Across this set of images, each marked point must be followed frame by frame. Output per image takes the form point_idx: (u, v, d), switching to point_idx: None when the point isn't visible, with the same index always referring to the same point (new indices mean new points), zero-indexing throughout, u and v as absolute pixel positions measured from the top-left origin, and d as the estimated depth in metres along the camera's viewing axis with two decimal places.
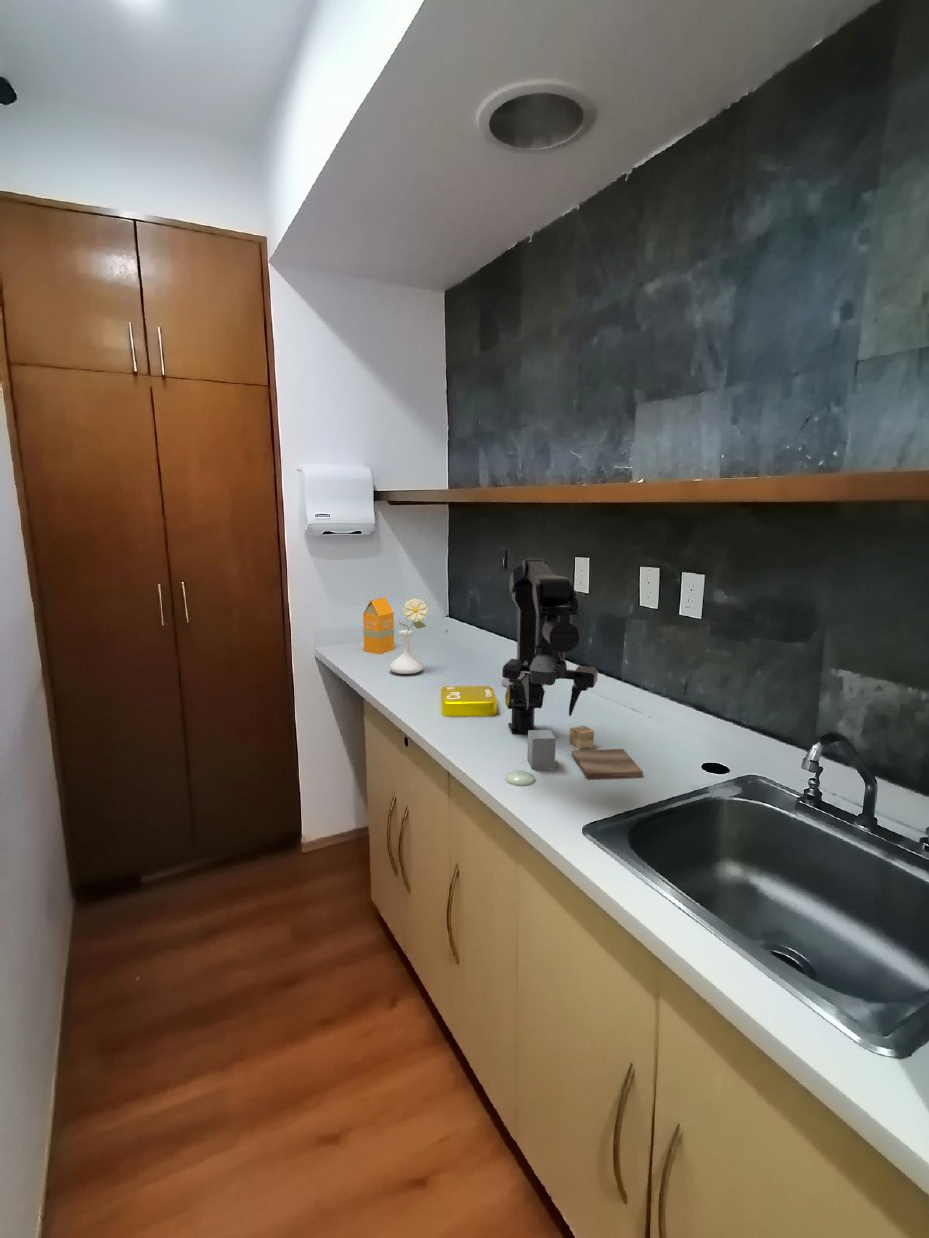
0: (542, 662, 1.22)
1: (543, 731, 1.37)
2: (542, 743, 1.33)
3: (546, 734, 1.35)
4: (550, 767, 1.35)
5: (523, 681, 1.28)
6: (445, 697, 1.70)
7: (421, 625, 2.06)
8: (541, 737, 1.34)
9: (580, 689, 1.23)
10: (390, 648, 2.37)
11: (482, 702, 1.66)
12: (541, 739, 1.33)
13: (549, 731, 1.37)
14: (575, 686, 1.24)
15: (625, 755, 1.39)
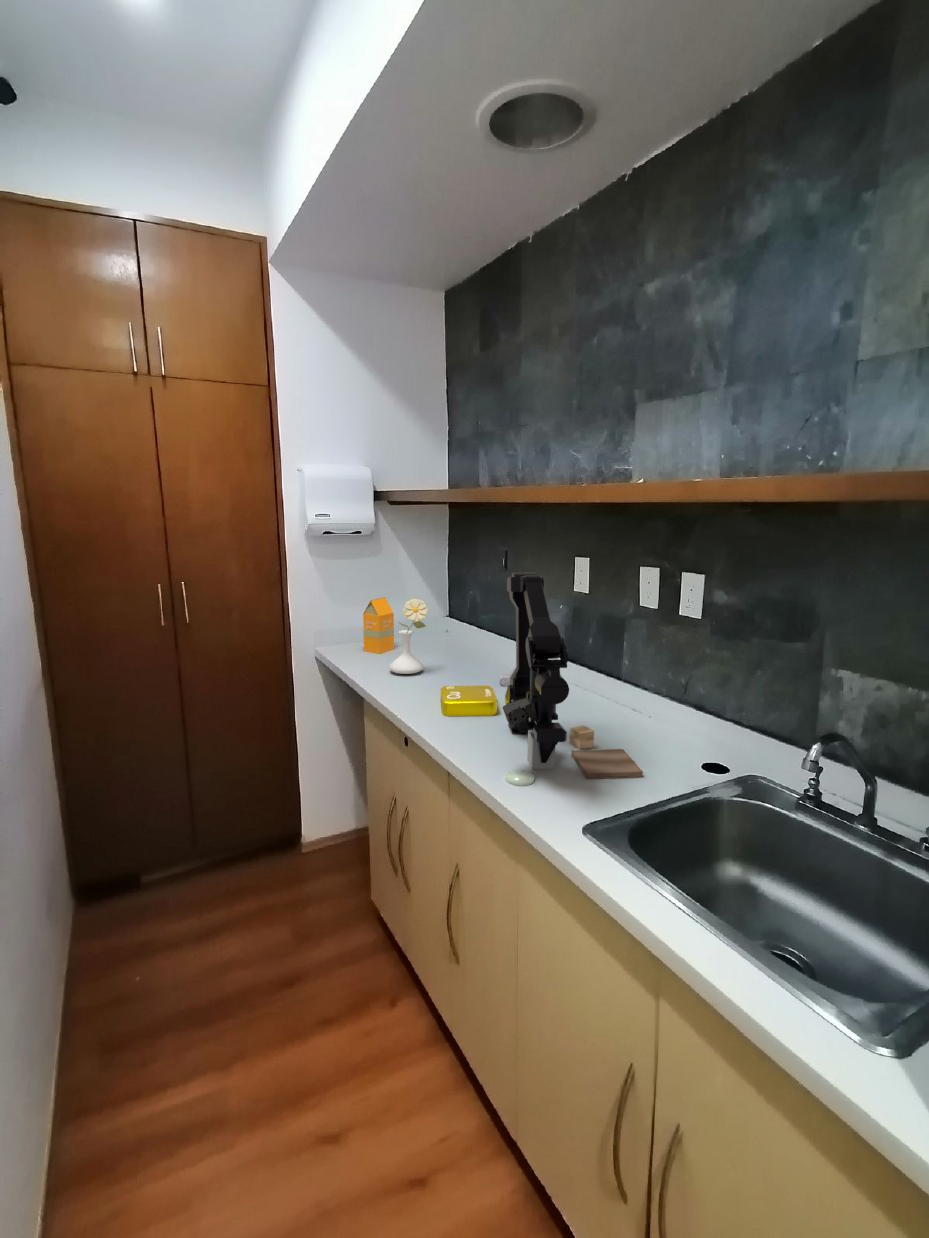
0: (516, 704, 1.34)
1: None
2: None
3: None
4: (550, 767, 1.35)
5: (532, 724, 1.38)
6: (445, 697, 1.70)
7: (421, 625, 2.06)
8: None
9: (533, 737, 1.30)
10: (390, 648, 2.37)
11: (482, 702, 1.67)
12: None
13: None
14: None
15: (625, 755, 1.39)
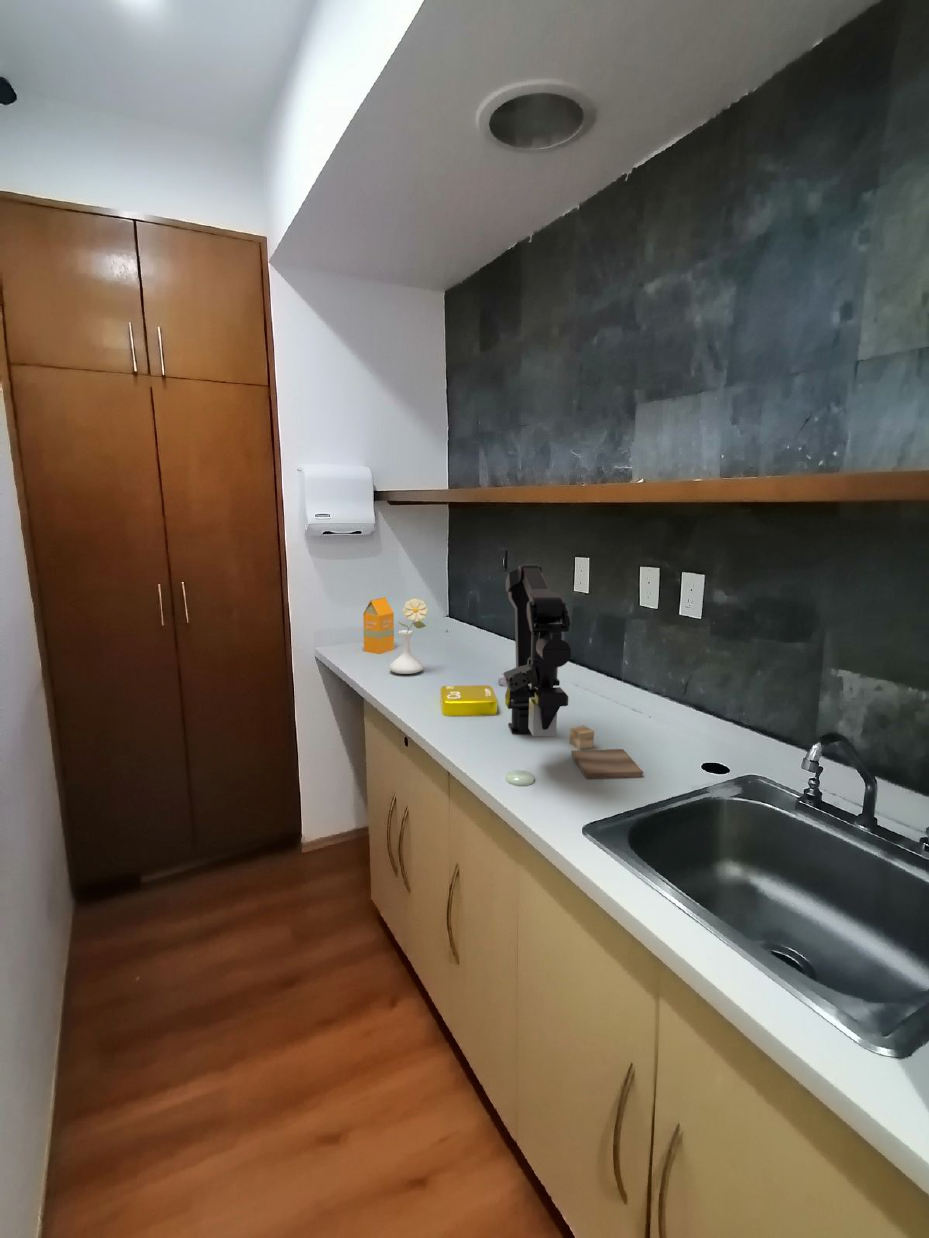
0: (517, 670, 1.33)
1: None
2: None
3: None
4: (551, 734, 1.33)
5: (533, 691, 1.37)
6: (445, 697, 1.70)
7: (421, 625, 2.06)
8: None
9: (535, 702, 1.29)
10: (390, 648, 2.37)
11: (482, 701, 1.67)
12: None
13: None
14: None
15: (625, 755, 1.39)
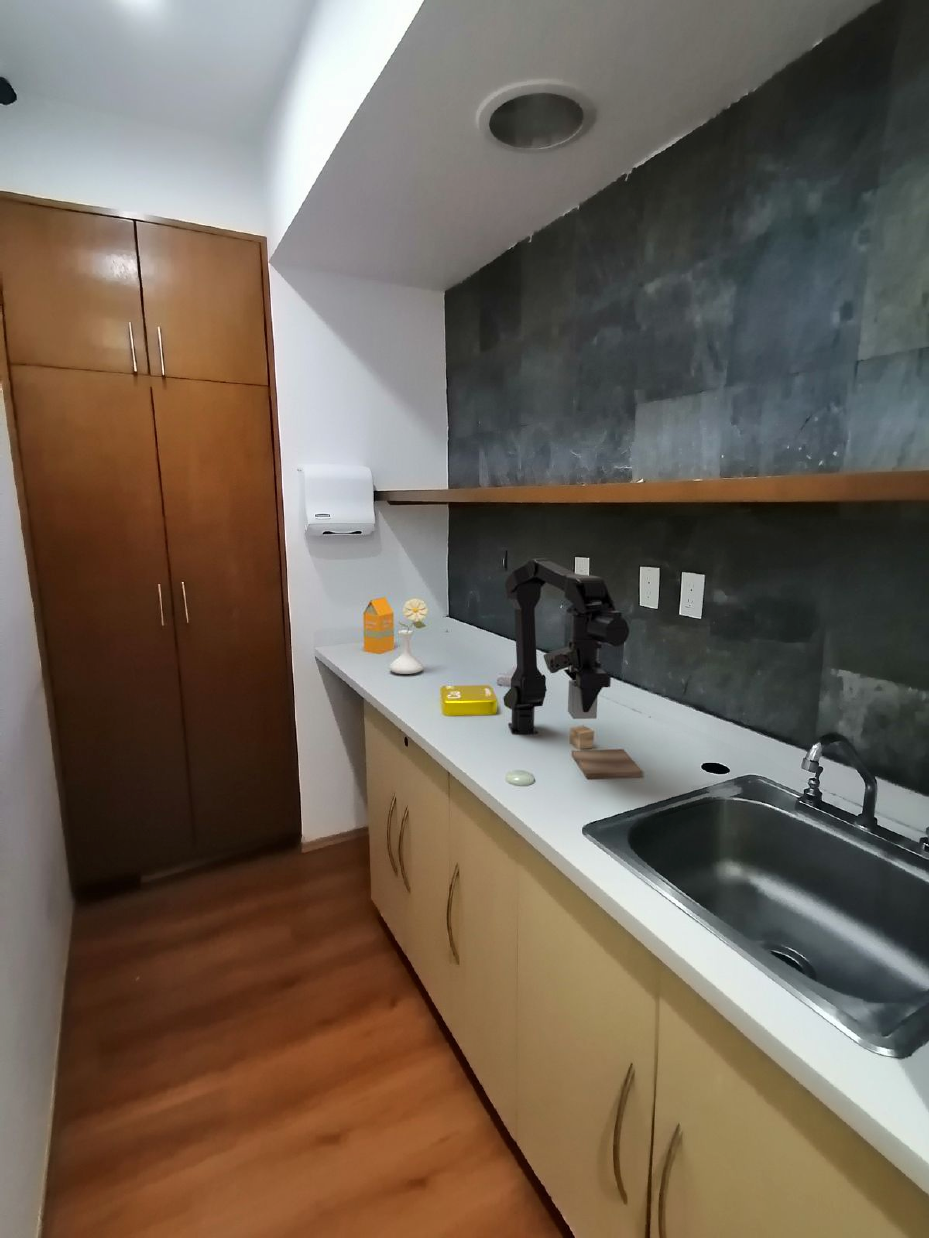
0: (557, 652, 1.32)
1: None
2: None
3: None
4: (592, 717, 1.32)
5: (573, 674, 1.36)
6: (445, 696, 1.70)
7: (421, 625, 2.06)
8: None
9: (576, 684, 1.28)
10: (390, 648, 2.37)
11: (482, 701, 1.67)
12: None
13: None
14: None
15: (625, 755, 1.39)
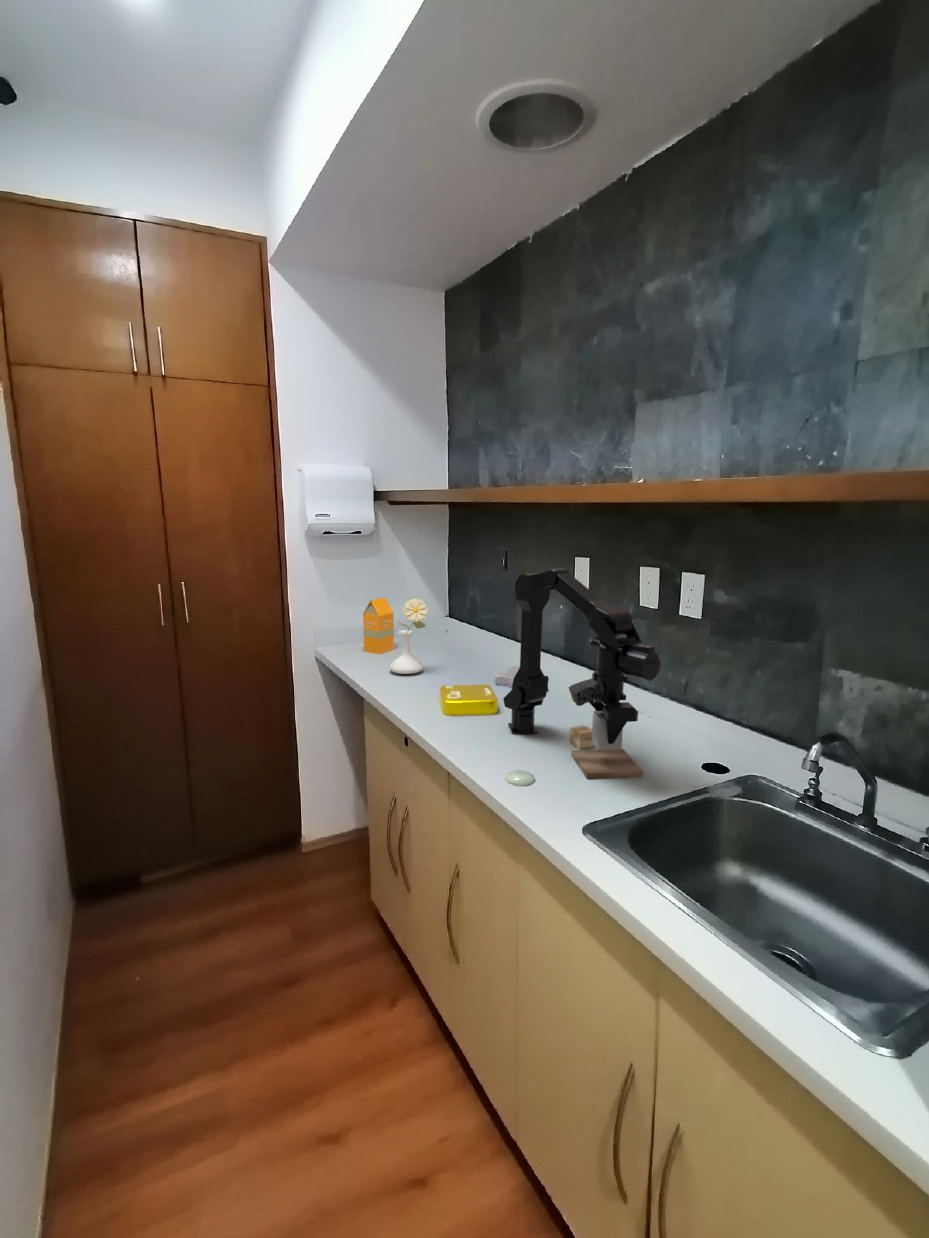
0: (583, 684, 1.33)
1: None
2: None
3: None
4: (617, 748, 1.33)
5: (597, 705, 1.37)
6: (446, 696, 1.70)
7: (421, 625, 2.06)
8: None
9: (602, 717, 1.29)
10: (390, 648, 2.37)
11: (483, 701, 1.67)
12: None
13: None
14: None
15: (625, 755, 1.39)
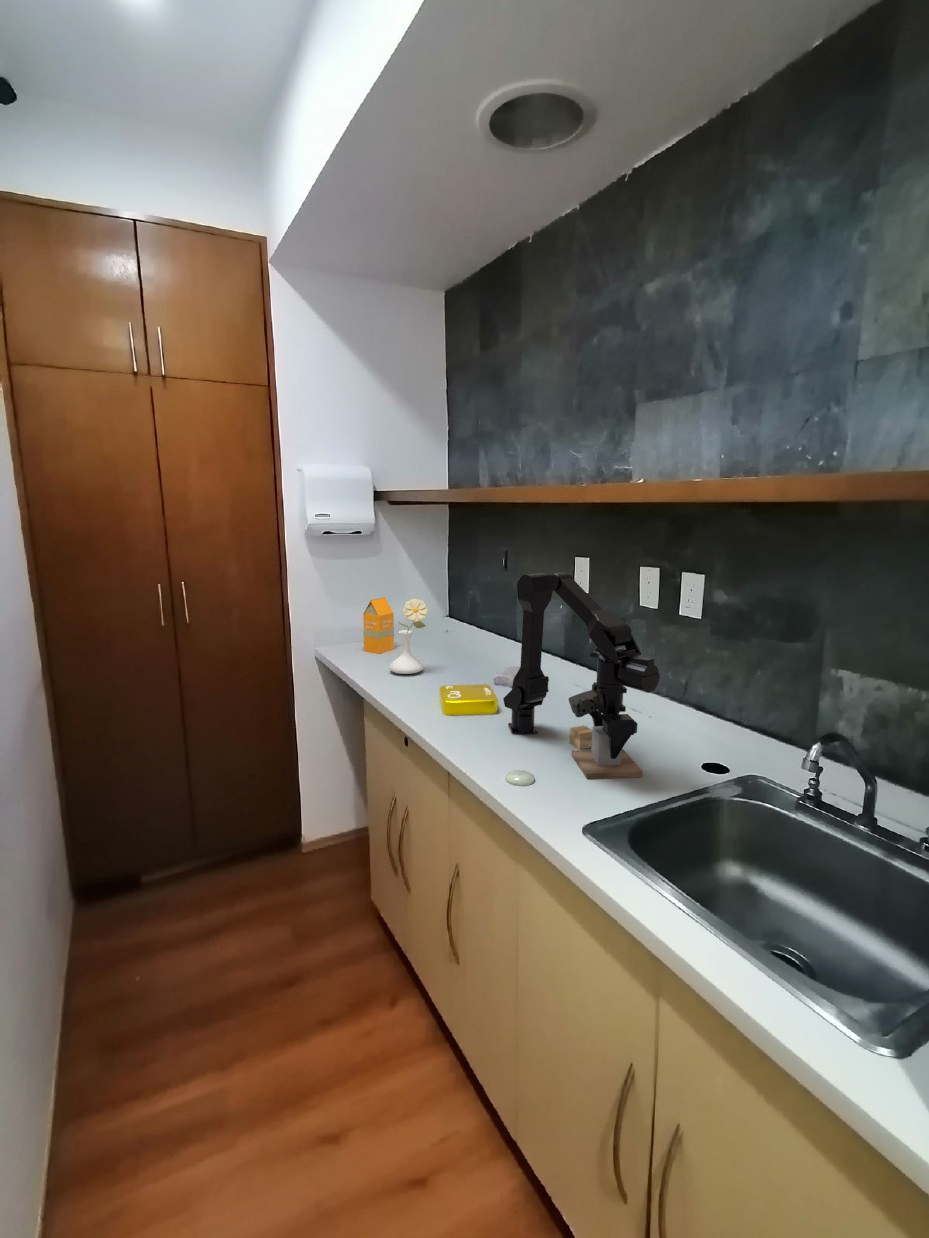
0: (583, 696, 1.33)
1: None
2: None
3: None
4: (616, 763, 1.34)
5: (594, 713, 1.39)
6: (446, 696, 1.71)
7: (421, 625, 2.06)
8: None
9: (605, 732, 1.27)
10: (390, 648, 2.37)
11: (483, 700, 1.68)
12: (607, 735, 1.32)
13: None
14: None
15: (625, 755, 1.39)
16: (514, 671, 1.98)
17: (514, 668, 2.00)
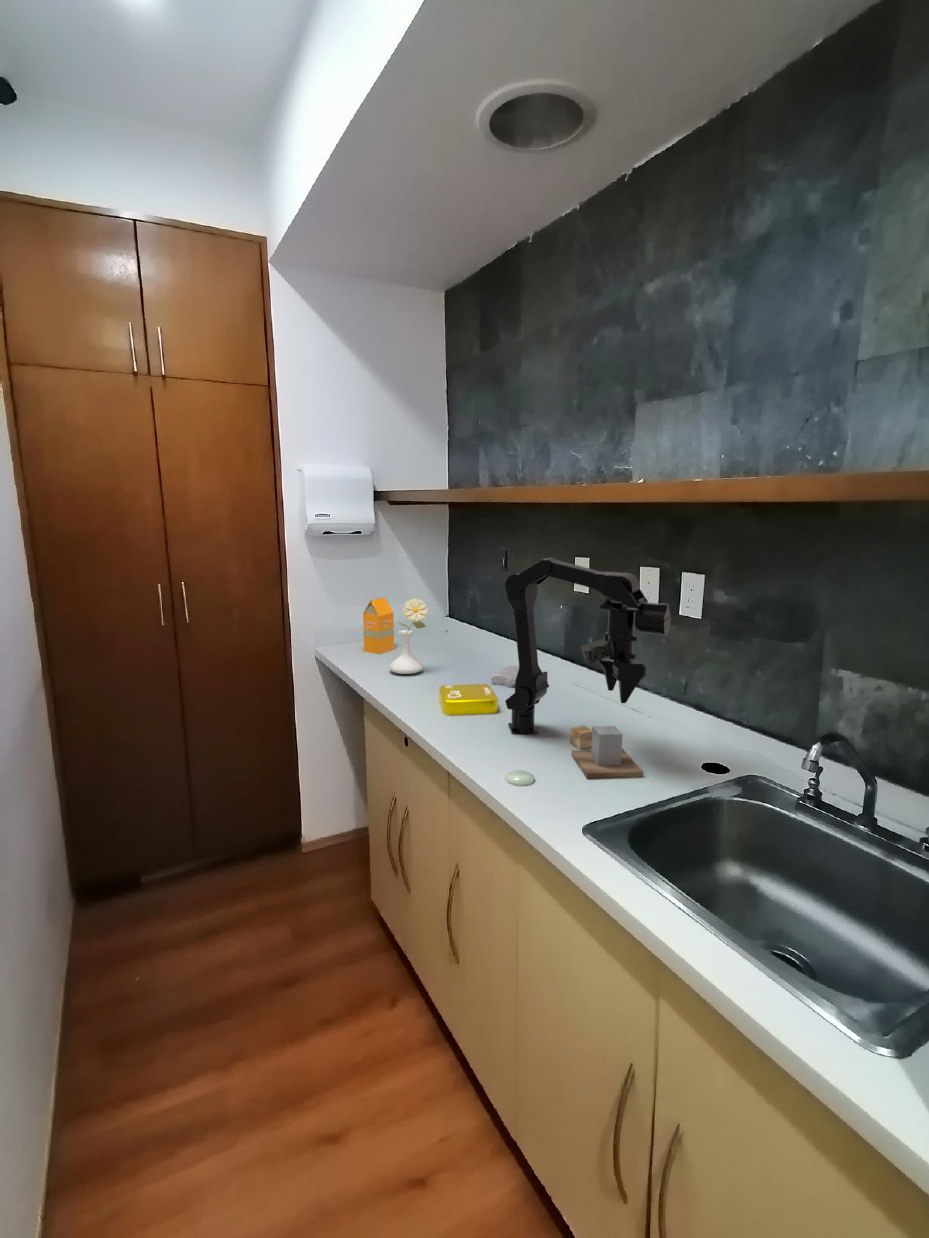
0: (594, 644, 1.40)
1: (608, 727, 1.37)
2: (609, 739, 1.33)
3: (611, 730, 1.35)
4: (616, 763, 1.34)
5: (605, 663, 1.46)
6: (446, 696, 1.71)
7: (421, 625, 2.06)
8: (607, 733, 1.33)
9: (615, 676, 1.35)
10: (389, 648, 2.37)
11: (483, 700, 1.68)
12: (607, 735, 1.32)
13: (614, 727, 1.37)
14: None
15: (625, 755, 1.39)
16: (512, 671, 1.99)
17: (512, 668, 2.00)
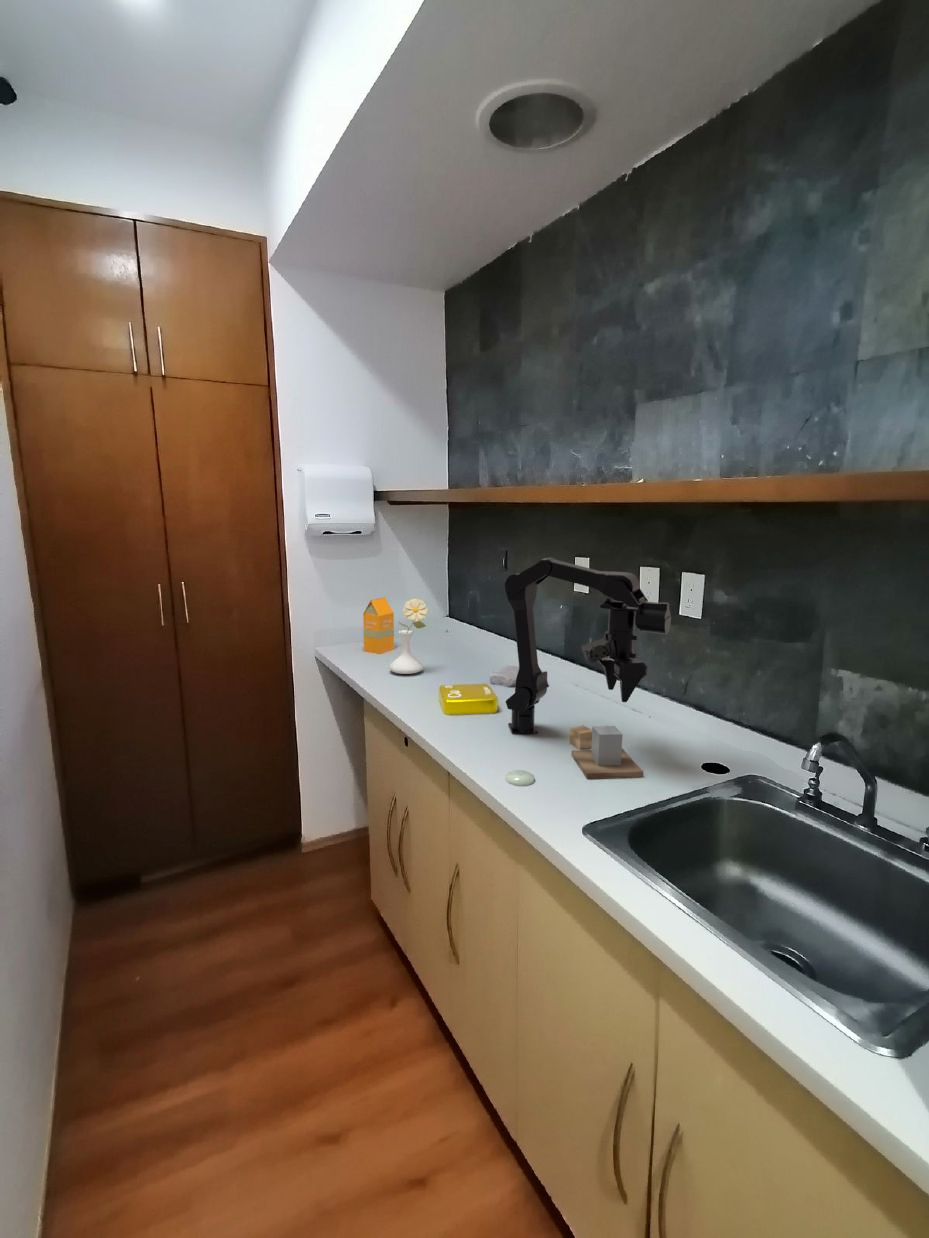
0: (595, 643, 1.41)
1: (608, 727, 1.37)
2: (609, 739, 1.33)
3: (611, 730, 1.35)
4: (616, 763, 1.34)
5: (605, 662, 1.47)
6: (446, 696, 1.71)
7: (421, 625, 2.06)
8: (607, 733, 1.33)
9: (617, 676, 1.35)
10: (390, 648, 2.37)
11: (483, 699, 1.68)
12: (607, 735, 1.32)
13: (614, 727, 1.37)
14: None
15: (625, 755, 1.39)
16: (510, 670, 1.99)
17: (510, 667, 2.01)
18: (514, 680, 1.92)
